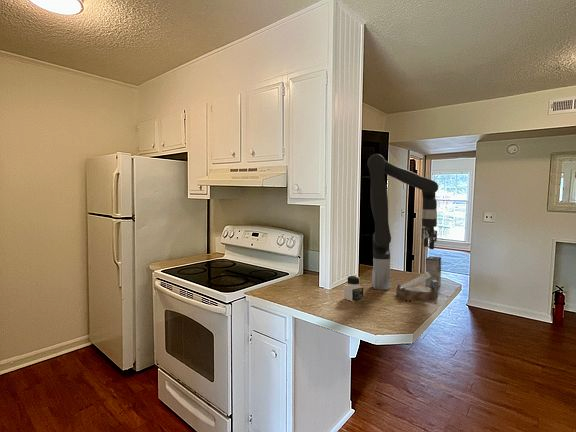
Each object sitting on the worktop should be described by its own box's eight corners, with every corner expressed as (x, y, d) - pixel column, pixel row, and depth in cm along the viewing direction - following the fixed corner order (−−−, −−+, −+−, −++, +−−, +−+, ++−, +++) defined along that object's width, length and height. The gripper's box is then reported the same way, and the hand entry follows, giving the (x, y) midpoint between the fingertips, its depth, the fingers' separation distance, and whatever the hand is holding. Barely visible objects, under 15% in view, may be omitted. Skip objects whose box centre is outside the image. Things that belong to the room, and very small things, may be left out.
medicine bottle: (352, 302, 161) (352, 279, 160) (343, 298, 167) (343, 275, 166) (363, 300, 164) (363, 277, 163) (354, 296, 170) (354, 274, 169)
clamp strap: (401, 290, 166) (400, 287, 165) (399, 288, 170) (397, 285, 169) (431, 276, 165) (429, 273, 165) (427, 274, 169) (426, 271, 169)
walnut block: (402, 300, 163) (402, 289, 163) (396, 294, 172) (396, 283, 172) (435, 299, 164) (435, 288, 163) (427, 293, 172) (427, 283, 172)
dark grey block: (433, 297, 166) (433, 281, 166) (430, 295, 170) (430, 280, 169) (438, 297, 166) (438, 281, 166) (435, 295, 170) (435, 279, 169)
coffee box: (429, 282, 194) (429, 255, 192) (440, 284, 190) (441, 257, 188) (425, 286, 186) (425, 258, 185) (437, 288, 182) (437, 259, 181)
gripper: (417, 216, 183) (416, 245, 184) (428, 218, 169) (427, 250, 170) (430, 216, 183) (429, 245, 184) (442, 218, 169) (441, 250, 170)
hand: (428, 247), depth 177 cm, fingers open, 6 cm apart
